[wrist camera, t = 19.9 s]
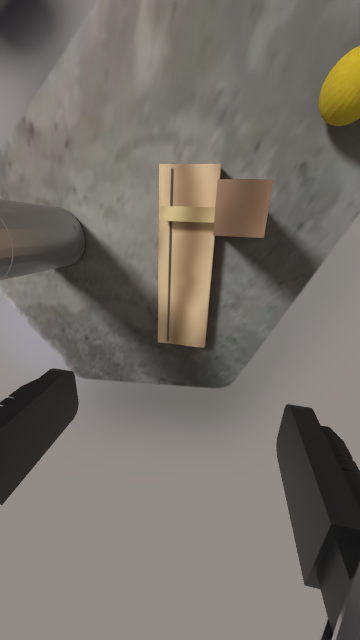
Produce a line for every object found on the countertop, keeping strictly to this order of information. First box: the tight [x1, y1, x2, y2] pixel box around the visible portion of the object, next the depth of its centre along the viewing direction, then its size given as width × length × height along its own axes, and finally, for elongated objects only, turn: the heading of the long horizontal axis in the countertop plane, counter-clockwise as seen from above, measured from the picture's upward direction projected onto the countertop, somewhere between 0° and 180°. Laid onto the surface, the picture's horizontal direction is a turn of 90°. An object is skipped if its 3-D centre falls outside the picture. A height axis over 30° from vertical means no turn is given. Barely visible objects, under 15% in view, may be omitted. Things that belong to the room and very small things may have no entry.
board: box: [158, 164, 221, 348], centre depth 36 cm, size 8×26×2 cm, turn 177°
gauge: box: [161, 179, 273, 238], centre depth 28 cm, size 12×4×14 cm, turn 87°
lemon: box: [319, 46, 360, 126], centre depth 24 cm, size 6×6×8 cm
